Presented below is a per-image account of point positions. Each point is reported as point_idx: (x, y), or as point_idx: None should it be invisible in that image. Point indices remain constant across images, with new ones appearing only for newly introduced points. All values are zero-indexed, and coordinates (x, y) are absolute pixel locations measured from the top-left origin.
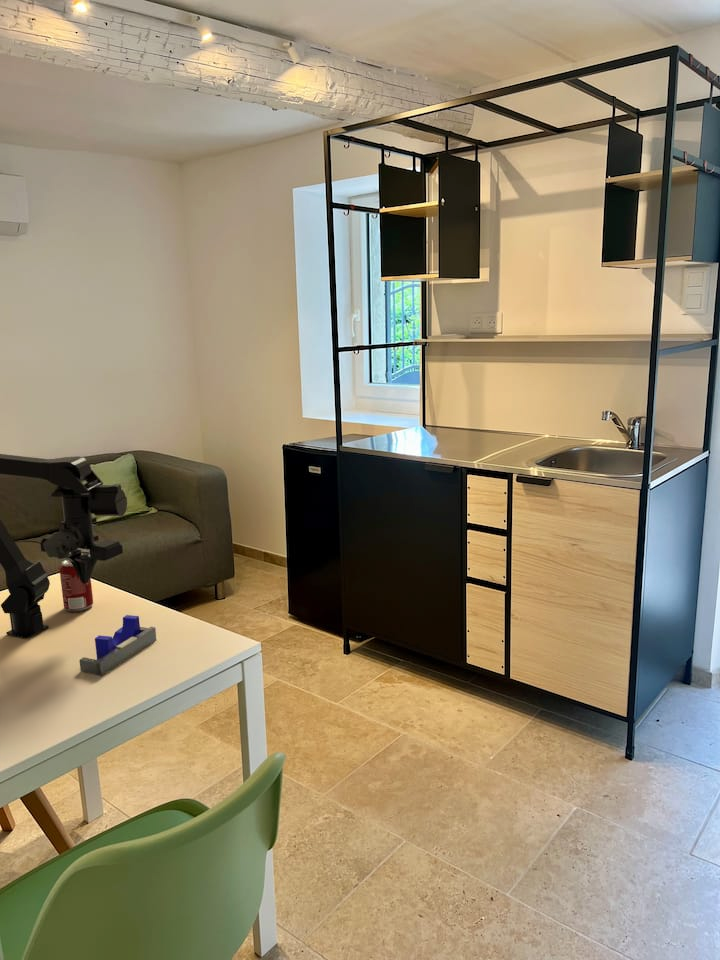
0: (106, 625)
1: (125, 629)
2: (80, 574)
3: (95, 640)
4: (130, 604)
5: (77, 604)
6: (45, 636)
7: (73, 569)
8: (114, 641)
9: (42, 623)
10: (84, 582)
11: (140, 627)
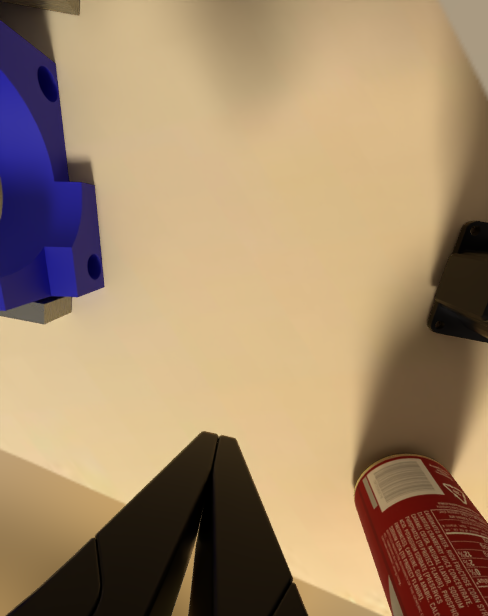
0: (224, 375)
1: (21, 256)
2: (214, 506)
3: None
4: None
5: (392, 475)
6: (401, 260)
7: None
8: (65, 210)
9: (449, 299)
10: (200, 436)
11: (16, 314)
